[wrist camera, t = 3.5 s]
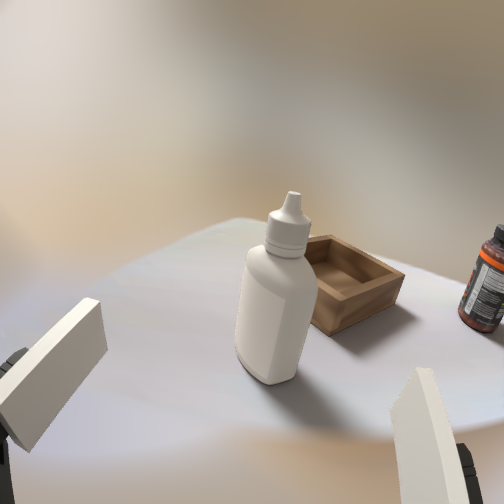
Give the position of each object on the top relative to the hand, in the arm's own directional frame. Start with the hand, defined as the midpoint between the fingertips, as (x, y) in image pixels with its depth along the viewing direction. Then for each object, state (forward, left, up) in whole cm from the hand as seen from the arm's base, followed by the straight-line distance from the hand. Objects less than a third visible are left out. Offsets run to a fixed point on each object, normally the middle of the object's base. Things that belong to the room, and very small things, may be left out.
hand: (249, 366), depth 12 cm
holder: (+11, -18, -7) cm, 22 cm away
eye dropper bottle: (+6, -6, -7) cm, 11 cm away
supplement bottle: (-3, -31, -7) cm, 32 cm away
